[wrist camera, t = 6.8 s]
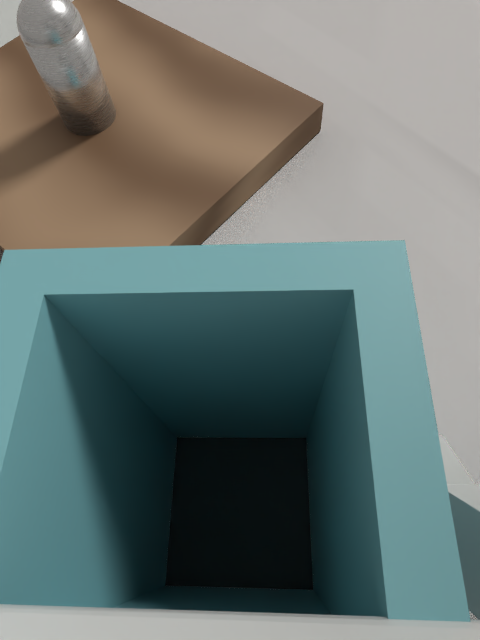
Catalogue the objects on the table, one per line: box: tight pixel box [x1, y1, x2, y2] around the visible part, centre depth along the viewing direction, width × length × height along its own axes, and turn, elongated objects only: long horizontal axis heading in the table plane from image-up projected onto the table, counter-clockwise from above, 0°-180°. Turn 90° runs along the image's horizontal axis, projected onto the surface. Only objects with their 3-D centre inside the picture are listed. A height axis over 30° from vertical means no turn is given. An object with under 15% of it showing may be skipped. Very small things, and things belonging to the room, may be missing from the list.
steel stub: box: [17, 0, 116, 136], centre depth 18 cm, size 2×2×5 cm
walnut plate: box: [0, 0, 323, 252], centre depth 21 cm, size 14×16×2 cm
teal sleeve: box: [0, 240, 471, 622], centre depth 10 cm, size 6×6×10 cm
